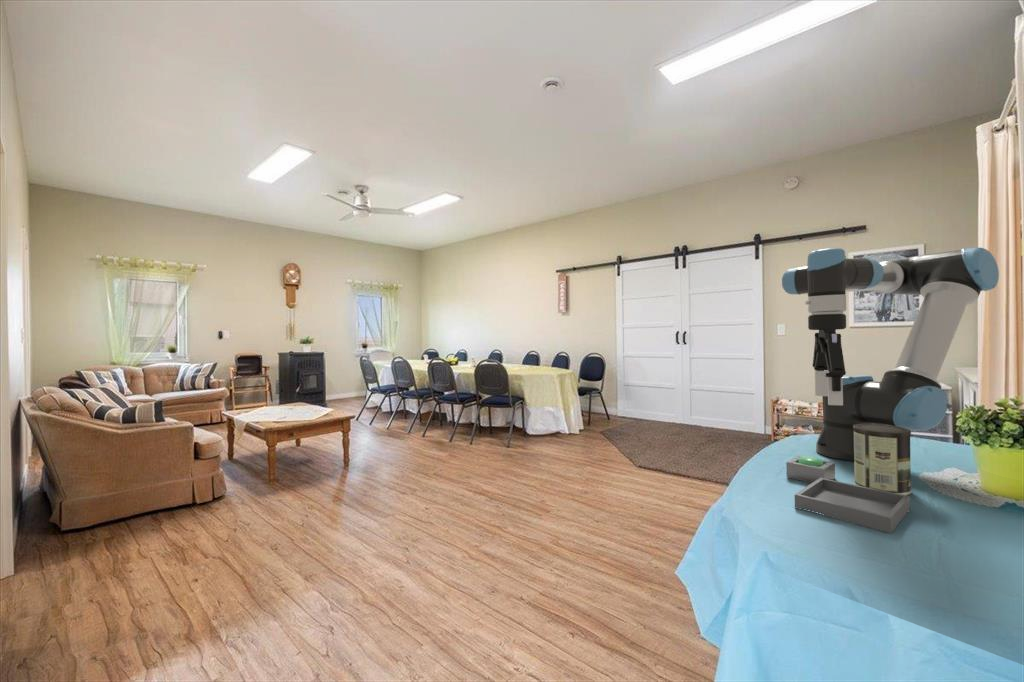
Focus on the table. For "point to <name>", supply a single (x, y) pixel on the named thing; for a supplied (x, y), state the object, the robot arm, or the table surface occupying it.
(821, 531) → the table surface
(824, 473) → the button housing
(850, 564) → the table surface
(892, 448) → the coffee can
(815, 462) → the button
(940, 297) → the robot arm
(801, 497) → the shallow gray tray
